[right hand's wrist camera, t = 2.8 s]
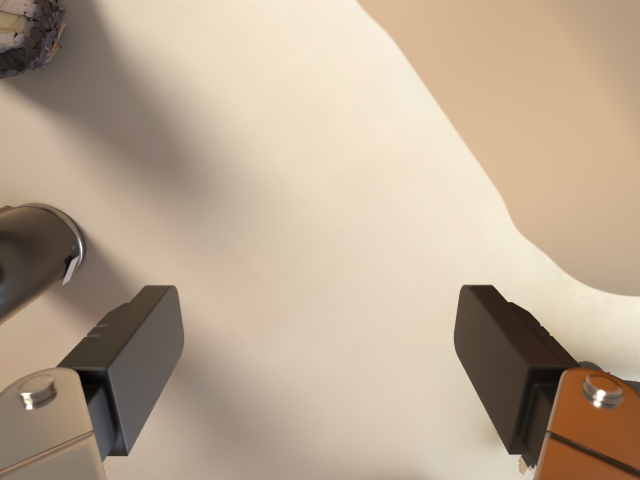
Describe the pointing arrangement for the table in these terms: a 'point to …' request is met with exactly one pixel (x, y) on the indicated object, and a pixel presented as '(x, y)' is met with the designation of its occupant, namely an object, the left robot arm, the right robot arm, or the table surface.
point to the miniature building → (29, 34)
